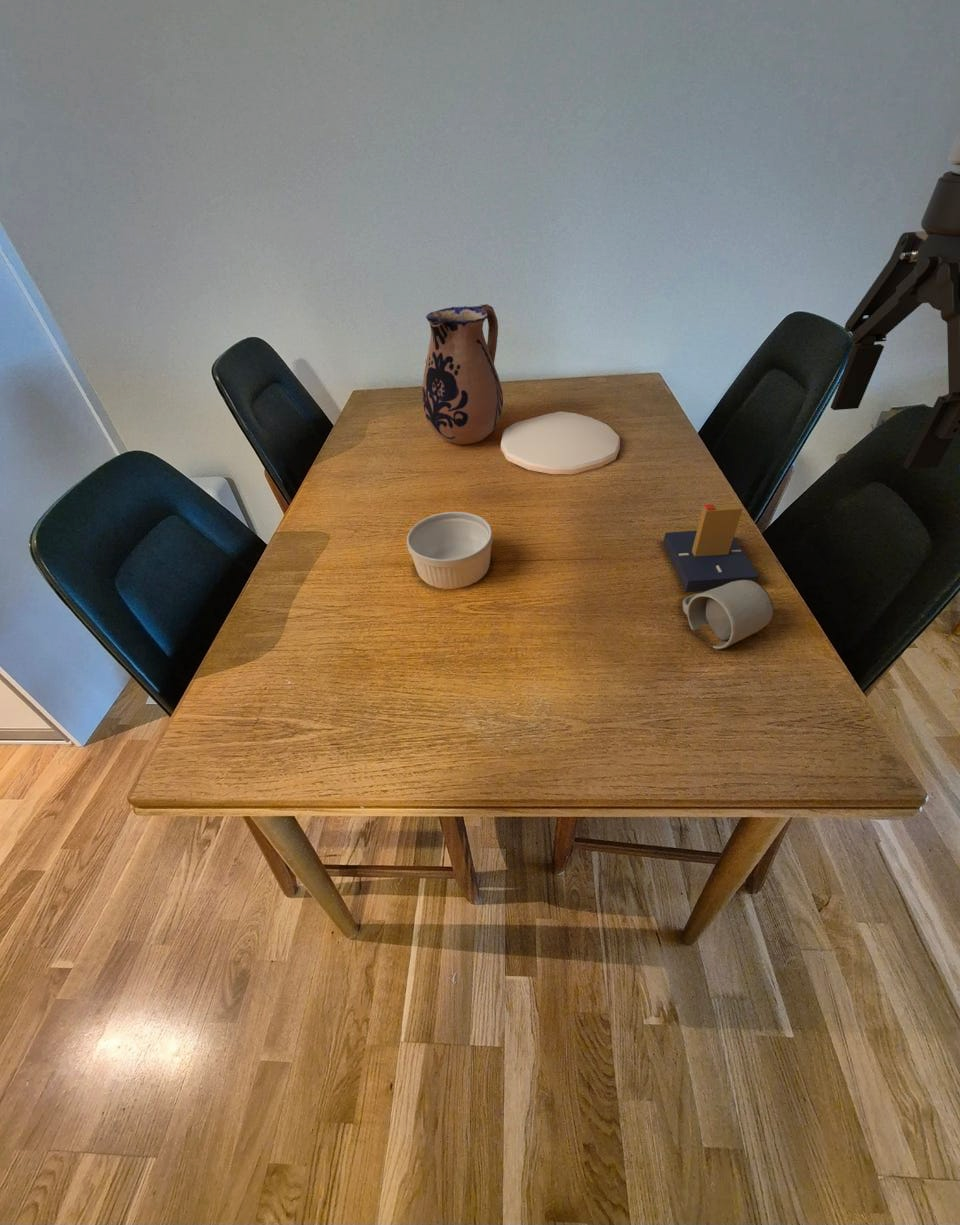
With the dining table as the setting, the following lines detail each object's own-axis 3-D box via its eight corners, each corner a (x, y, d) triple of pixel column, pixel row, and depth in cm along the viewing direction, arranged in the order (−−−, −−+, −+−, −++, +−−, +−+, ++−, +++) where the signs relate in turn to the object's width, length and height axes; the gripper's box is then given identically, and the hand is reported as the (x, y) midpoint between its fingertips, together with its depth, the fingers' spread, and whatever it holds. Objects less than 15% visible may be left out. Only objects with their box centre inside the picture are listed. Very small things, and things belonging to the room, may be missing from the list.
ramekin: (456, 536, 93) (452, 501, 88) (511, 566, 86) (510, 531, 81) (397, 572, 87) (389, 537, 82) (451, 608, 79) (446, 572, 75)
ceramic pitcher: (413, 446, 120) (392, 324, 102) (461, 409, 132) (450, 295, 115) (480, 460, 113) (471, 331, 95) (524, 420, 125) (522, 300, 108)
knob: (724, 549, 80) (739, 501, 75) (728, 554, 79) (743, 507, 74) (691, 551, 81) (703, 504, 75) (694, 556, 80) (706, 509, 74)
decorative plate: (481, 422, 116) (578, 397, 123) (482, 440, 119) (577, 414, 126) (535, 470, 99) (646, 438, 106) (535, 490, 102) (643, 457, 109)
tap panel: (753, 592, 78) (759, 575, 75) (684, 596, 78) (688, 580, 76) (724, 543, 86) (729, 527, 84) (662, 547, 87) (665, 531, 84)
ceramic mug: (768, 637, 71) (786, 593, 66) (723, 661, 68) (738, 617, 63) (708, 593, 78) (720, 551, 73) (665, 614, 76) (674, 571, 70)
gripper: (862, 161, 50) (787, 391, 64) (1093, 188, 31) (916, 501, 46) (944, 153, 49) (851, 386, 64) (1225, 177, 31) (1005, 495, 46)
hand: (878, 434), depth 55 cm, fingers open, 13 cm apart
